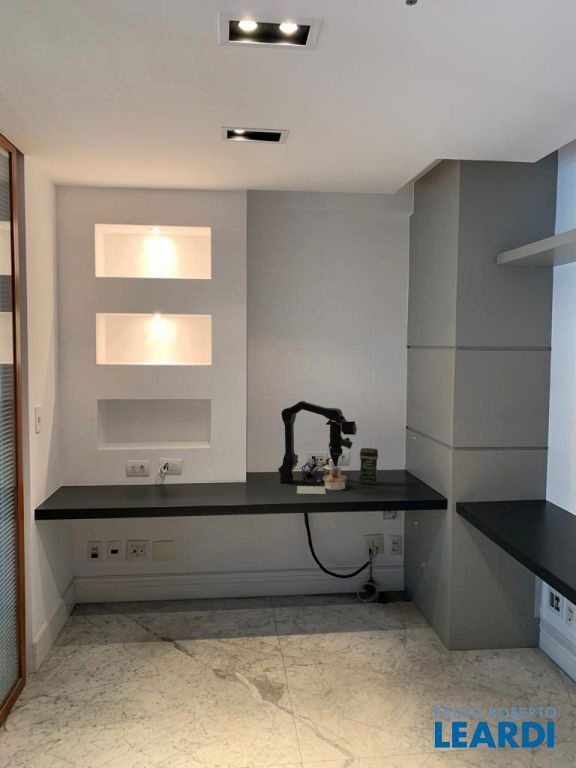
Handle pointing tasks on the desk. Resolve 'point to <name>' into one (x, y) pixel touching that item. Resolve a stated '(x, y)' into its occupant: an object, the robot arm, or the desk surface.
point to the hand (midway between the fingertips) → (335, 464)
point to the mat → (311, 490)
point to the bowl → (335, 485)
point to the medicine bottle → (330, 467)
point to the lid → (334, 477)
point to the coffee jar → (368, 466)
